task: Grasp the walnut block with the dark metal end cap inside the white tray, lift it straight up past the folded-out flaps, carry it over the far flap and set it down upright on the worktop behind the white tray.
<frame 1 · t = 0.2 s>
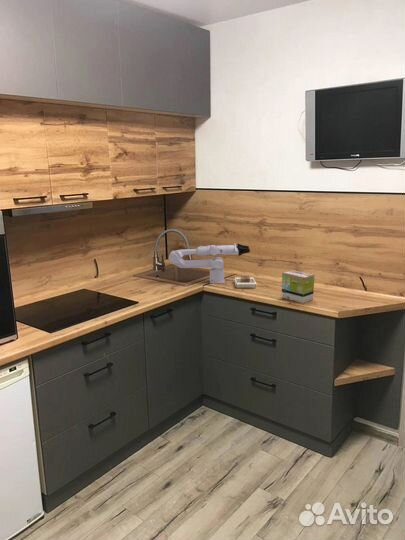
hand: (249, 249, 291), 21 cm above the countertop, tool horizontal, fingers open, 7 cm apart
white tray: (245, 286, 285), on the countertop
walnut block: (245, 285, 285), point 1 cm above the countertop, touching white tray
tea box: (297, 299, 257), on the countertop
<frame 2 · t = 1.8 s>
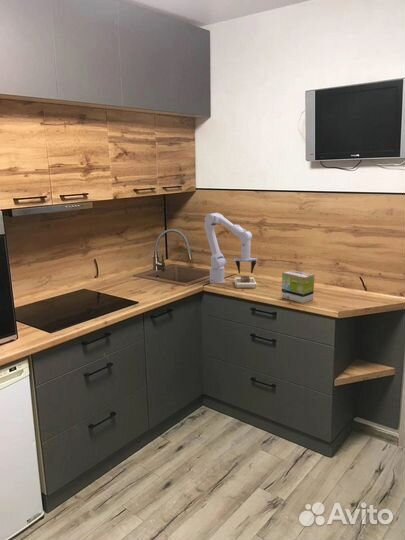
hand: (245, 273, 283), 8 cm above the countertop, tool pointing down, fingers open, 7 cm apart
nothing on the countertop moved.
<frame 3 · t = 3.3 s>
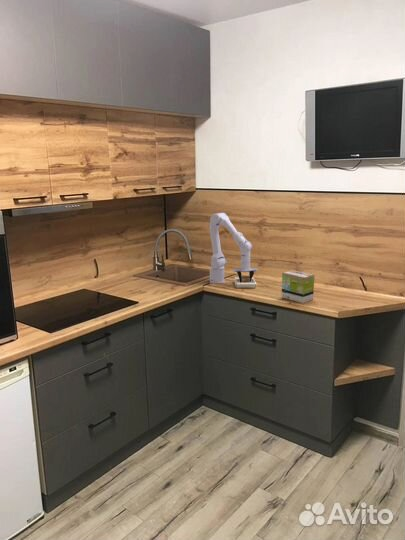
hand: (245, 283, 285), 2 cm above the countertop, tool pointing down, fingers closed on walnut block, 5 cm apart
walnut block: (245, 285, 285), point 1 cm above the countertop, touching white tray, gripper
everything else where it was.
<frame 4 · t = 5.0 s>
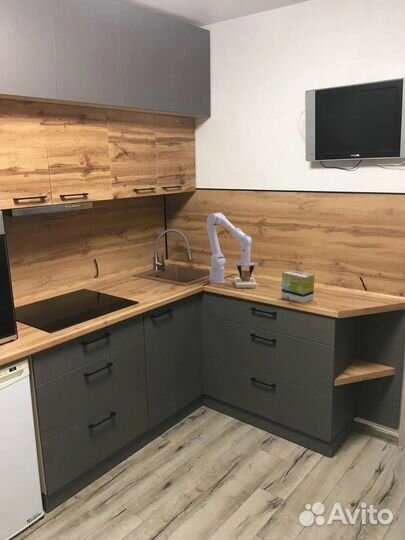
hand: (245, 277, 284), 5 cm above the countertop, tool pointing down, fingers closed on walnut block, 5 cm apart
walnut block: (245, 279, 284), point 4 cm above the countertop, touching gripper
everything else where it was.
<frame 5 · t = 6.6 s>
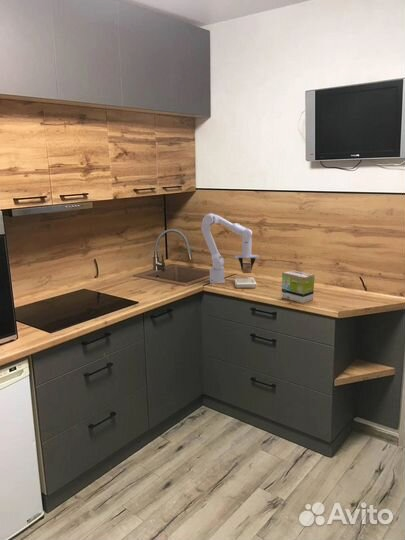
hand: (246, 269, 290), 9 cm above the countertop, tool pointing down, fingers closed on walnut block, 5 cm apart
walnut block: (246, 271, 290), point 8 cm above the countertop, touching gripper
everything else where it was.
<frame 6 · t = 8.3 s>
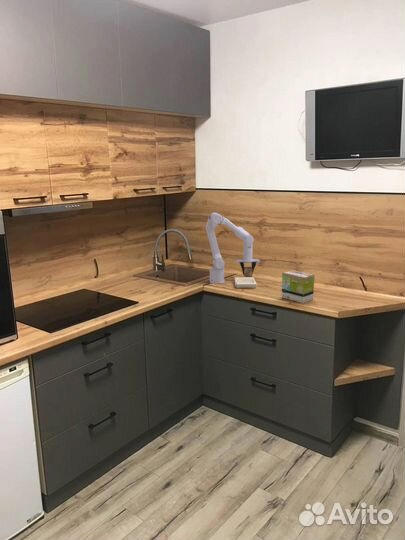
hand: (247, 273, 298), 5 cm above the countertop, tool pointing down, fingers closed on walnut block, 5 cm apart
walnut block: (247, 275, 298), point 3 cm above the countertop, touching gripper
everything else where it was.
when the fingers open (3 cm above the countertop, at t = 9.7 s): walnut block drops 2 cm, on the countertop.
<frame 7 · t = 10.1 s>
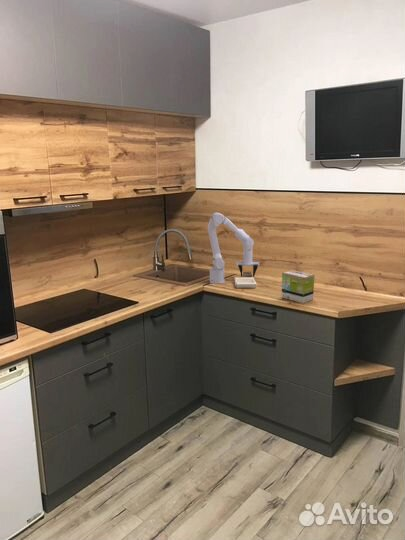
hand: (247, 276, 298), 3 cm above the countertop, tool pointing down, fingers open, 7 cm apart
walnut block: (247, 280, 299), on the countertop
everything else where it was.
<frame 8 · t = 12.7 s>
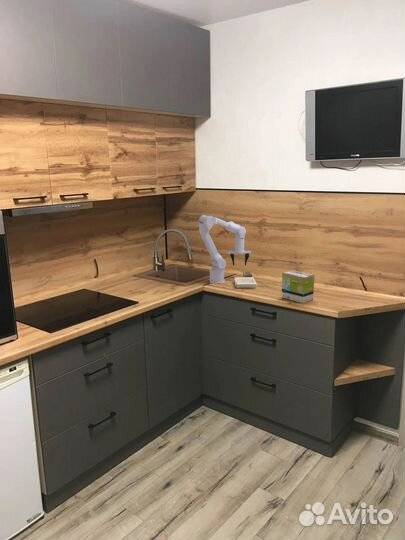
hand: (239, 265, 301), 9 cm above the countertop, tool pointing down, fingers open, 7 cm apart
nothing on the countertop moved.
at the end: walnut block inside the target area (0.0 cm from its centre), on the countertop; walnut block tilted 0°; walnut block touching countertop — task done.
